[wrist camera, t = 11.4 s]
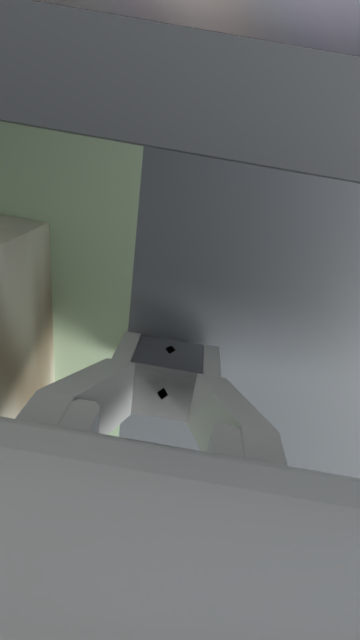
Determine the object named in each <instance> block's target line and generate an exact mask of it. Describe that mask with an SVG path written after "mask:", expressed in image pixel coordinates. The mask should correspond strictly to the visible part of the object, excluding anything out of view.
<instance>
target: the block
mask: <svg viewBox="0 0 360 640" xmlns="http://www.w3.org/2000/svg"><path fill="white" fill-rule="evenodd" d="M53 382H55V369H54V342H53V315H52V288H51V262H50V235H49V223H48V222H42V221H36V220H30V219H25V218H19V217H13V216H7V215H1V214H0V416H1V417H7V418H13V419H15V418H16V417H17V415H18V414H19V413H20V411H21V410H22V409H23V407H24V406H25V405H26V404H27V402H28V401H29V400H30V398H31V397H32V396H33V394H34V393H35V392H36V390H38V389H40V388H42V387H45V386H47V385H49V384H51V383H53Z"/></svg>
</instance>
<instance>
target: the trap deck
mask: <svg viewBox="0 0 360 640" xmlns="http://www.w3.org/2000/svg"><path fill="white" fill-rule="evenodd" d="M0 214H1V215H7V216H13V217H19V218H25V219H30V220H36V221H42V222H48V223H49V235H50V262H51V288H52V315H53V342H54V369H55V382H56V381H58V380H60V379H62V378H64V377H66V376H69V375H71V374H73V373H75V372H77V371H80V370H82V369H84V368H86V367H88V366H90V365H93V364H95V363H97V362H99V361H101V360H104V359H106V358H110V359H111V358H112V356H113V354H114V352H115V350H116V348H117V346H118V344H119V342H120V340H121V338H122V336H123V334H124V333H125V332H126V331H128V332H134V333H141V334H145V335H150V336H156V337H161V338H166V339H172V340H176V341H183V342H190V343H197V344H203V345H211V346H218V347H219V348H220V356H221V371H222V378H227V379H228V380H229V381H230V383H231V384H232V385H233V386H234V387H235V388H236V389H237V390H238V391H239V392H240V393H241V394H242V395H243V396H244V397H245V398H246V399H247V400H248V401H249V402H250V403H251V404H252V405H253V406H254V407H255V408H256V409H257V410H258V411H259V412H260V413H261V414H262V415H263V416H264V417H265V418H266V419H267V420H268V421H269V422H270V423H271V424H272V425H273V426H274V428H275V429H276V430H277V431H278V432H279V434H280V438H281V442H282V446H283V449H284V453H285V457H286V461H287V465H288V466H292V467H297V468H303V469H309V470H315V471H321V472H327V473H332V474H338V475H344V476H350V477H356V478H360V56H355V55H349V54H343V53H337V52H331V51H326V50H320V49H314V48H308V47H302V46H296V45H291V44H285V43H279V42H273V41H267V40H261V39H256V38H250V37H244V36H238V35H232V34H226V33H221V32H215V31H209V30H203V29H197V28H191V27H186V26H180V25H174V24H168V23H162V22H156V21H151V20H145V19H139V18H133V17H127V16H122V15H116V14H110V13H104V12H98V11H92V10H87V9H81V8H75V7H69V6H63V5H57V4H52V3H46V2H40V1H34V0H0ZM108 435H112V436H117V437H123V438H129V439H135V440H141V441H146V442H152V443H158V444H164V445H170V446H175V447H181V448H187V449H193V450H199V451H201V450H200V448H199V446H198V444H197V443H196V441H195V439H194V437H193V435H192V433H191V431H190V429H189V428H188V426H187V423H185V422H180V421H175V420H170V419H165V418H160V417H153V416H146V415H139V414H132V413H131V415H130V416H129V417H127V418H126V419H125V420H124V421H123V422H122V423H120V424H119V425H118V426H117V427H116V428H115V429H114V430H112V431H111V432H110V433H109V434H108Z"/></svg>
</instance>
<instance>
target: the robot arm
mask: <svg viewBox="0 0 360 640" xmlns="http://www.w3.org/2000/svg"><path fill="white" fill-rule="evenodd" d="M131 413H132V414H139V415H146V416H153V417H160V418H165V419H170V420H175V421H180V422H185V423H187V426H188V428H189V429H190V431H191V433H192V435H193V437H194V439H195V441H196V443H197V444H198V446H199V448H200V450H201V451H199V450H193V449H187V448H181V447H175V446H170V445H164V444H158V443H152V442H146V441H141V440H135V439H129V438H123V437H117V436H112V435H108V434H109V433H110V432H111V431H112V430H114V429H115V428H116V427H117V426H118V425H119V424H120V423H122V422H123V421H124V420H125V419H126V418H127V417H129V416H130V415H131ZM0 640H360V478H356V477H350V476H344V475H338V474H332V473H327V472H321V471H315V470H309V469H303V468H297V467H292V466H288V465H287V461H286V457H285V453H284V449H283V446H282V442H281V438H280V434H279V432H278V431H277V430H276V429H275V428H274V426H273V425H272V424H271V423H270V422H269V421H268V420H267V419H266V418H265V417H264V416H263V415H262V414H261V413H260V412H259V411H258V410H257V409H256V408H255V407H254V406H253V405H252V404H251V403H250V402H249V401H248V400H247V399H246V398H245V397H244V396H243V395H242V394H241V393H240V392H239V391H238V390H237V389H236V388H235V387H234V386H233V385H232V384H231V383H230V381H229V380H228V379H227V378H222V371H221V356H220V348H219V347H218V346H211V345H203V344H197V343H190V342H183V341H176V340H172V339H166V338H161V337H156V336H150V335H145V334H141V333H134V332H128V331H126V332H125V333H124V334H123V336H122V338H121V340H120V342H119V344H118V346H117V348H116V350H115V352H114V354H113V356H112V358H111V359H110V358H106V359H104V360H101V361H99V362H97V363H95V364H93V365H90V366H88V367H86V368H84V369H82V370H80V371H77V372H75V373H73V374H71V375H69V376H66V377H64V378H62V379H60V380H58V381H56V382H53V383H51V384H49V385H47V386H45V387H42V388H40V389H38V390H36V392H35V393H34V394H33V396H32V397H31V398H30V400H29V401H28V402H27V404H26V405H25V406H24V407H23V409H22V410H21V411H20V413H19V414H18V415H17V417H16V418H15V419H13V418H7V417H1V416H0Z"/></svg>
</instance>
